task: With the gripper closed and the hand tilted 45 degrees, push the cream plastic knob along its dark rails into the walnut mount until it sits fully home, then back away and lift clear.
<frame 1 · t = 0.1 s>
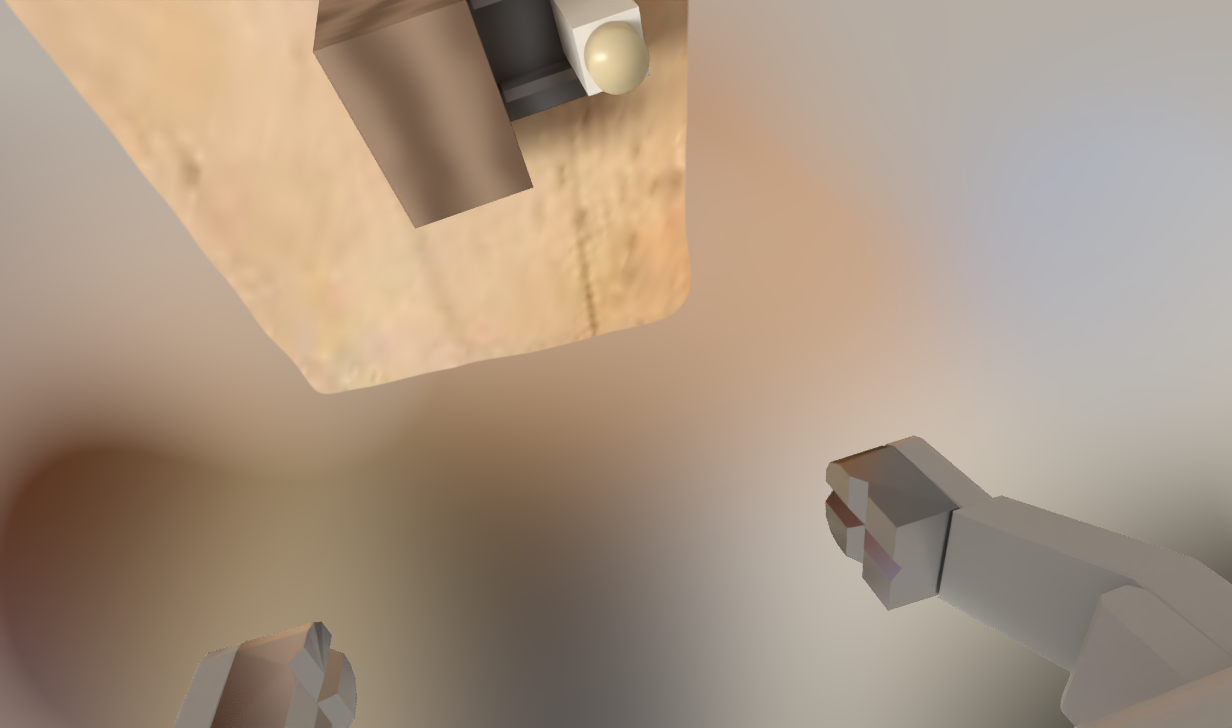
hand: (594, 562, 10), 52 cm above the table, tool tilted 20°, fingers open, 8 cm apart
mount: (483, 37, 51), on the table
knob: (600, 35, 47), point 7 cm above the table, slide at 6.0 cm
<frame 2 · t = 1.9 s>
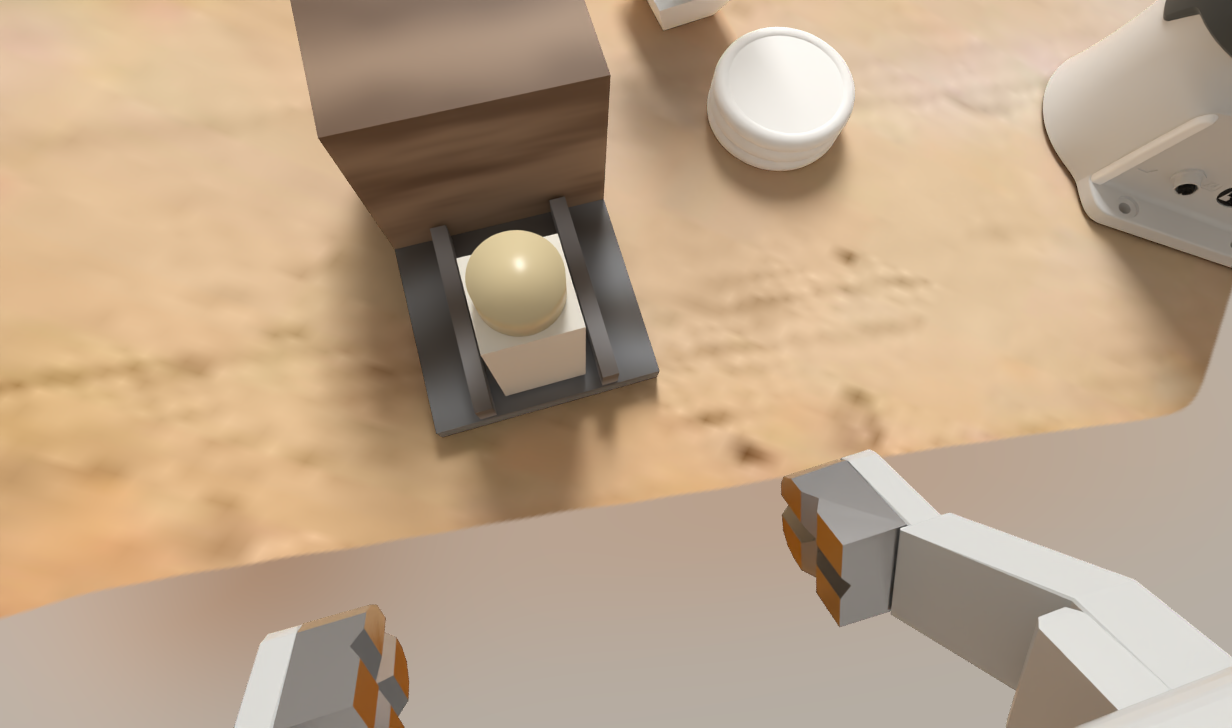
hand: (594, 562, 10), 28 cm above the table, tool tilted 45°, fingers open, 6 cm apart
figurine: (676, 3, 47), on the table
mount: (505, 238, 41), on the table
coaster: (770, 117, 45), on the table
knob: (527, 317, 32), point 7 cm above the table, slide at 6.0 cm
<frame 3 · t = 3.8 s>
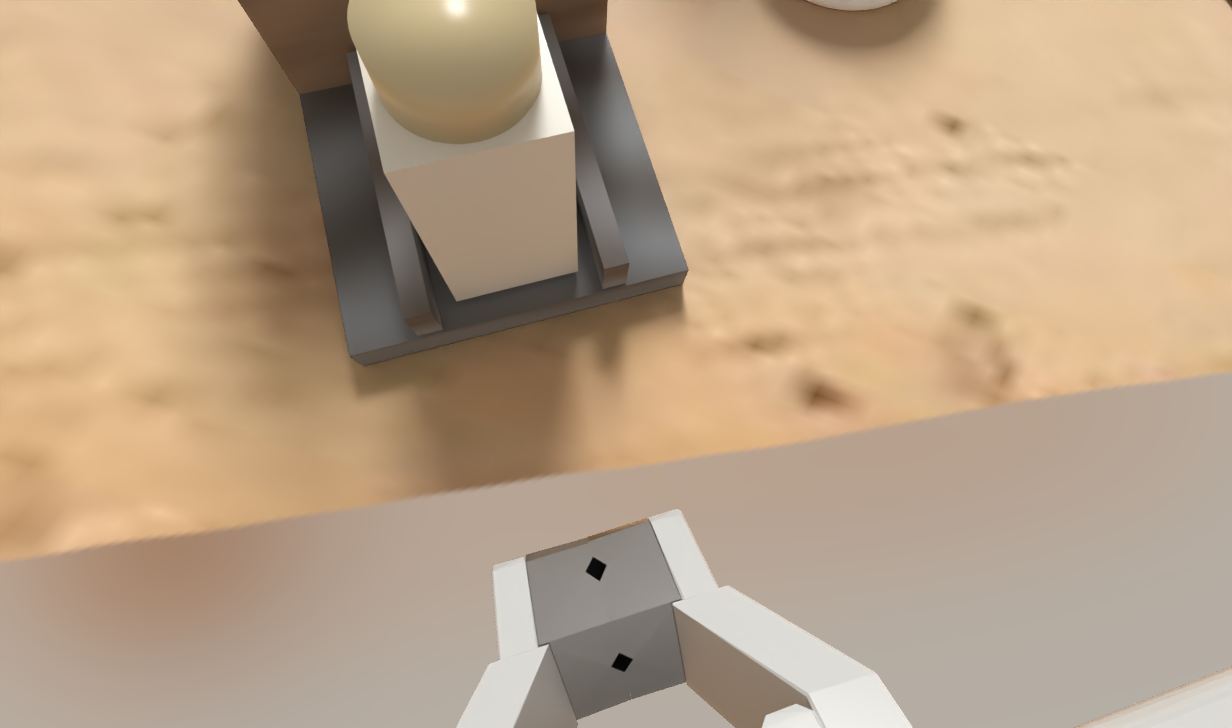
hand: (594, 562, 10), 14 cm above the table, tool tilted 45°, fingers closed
mount: (465, 91, 29), on the table
knob: (481, 151, 19), point 7 cm above the table, slide at 6.0 cm
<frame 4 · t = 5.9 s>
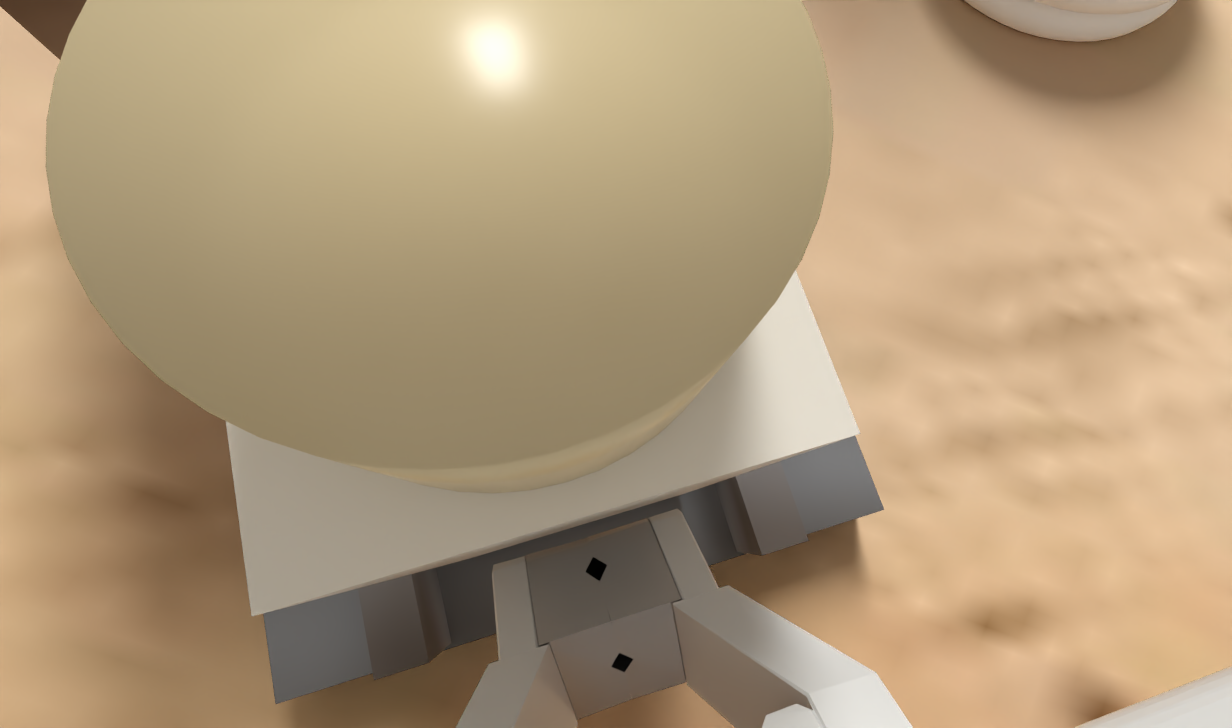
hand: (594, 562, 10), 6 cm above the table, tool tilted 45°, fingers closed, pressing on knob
mount: (485, 173, 18), on the table
knob: (532, 352, 9), point 7 cm above the table, slide at 5.3 cm, touching gripper
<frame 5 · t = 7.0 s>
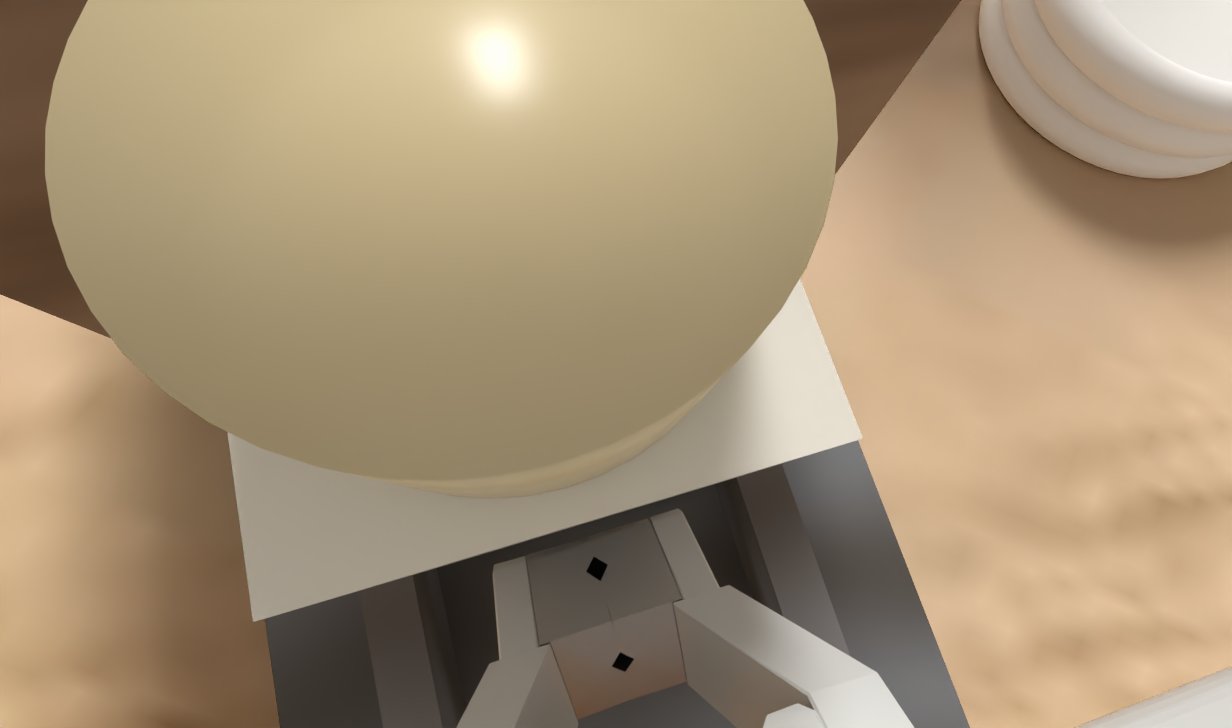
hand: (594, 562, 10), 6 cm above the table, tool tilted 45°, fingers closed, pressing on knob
mount: (531, 341, 16), on the table
coaster: (1109, 59, 21), on the table
knob: (533, 353, 9), point 7 cm above the table, slide at -0.1 cm, touching gripper
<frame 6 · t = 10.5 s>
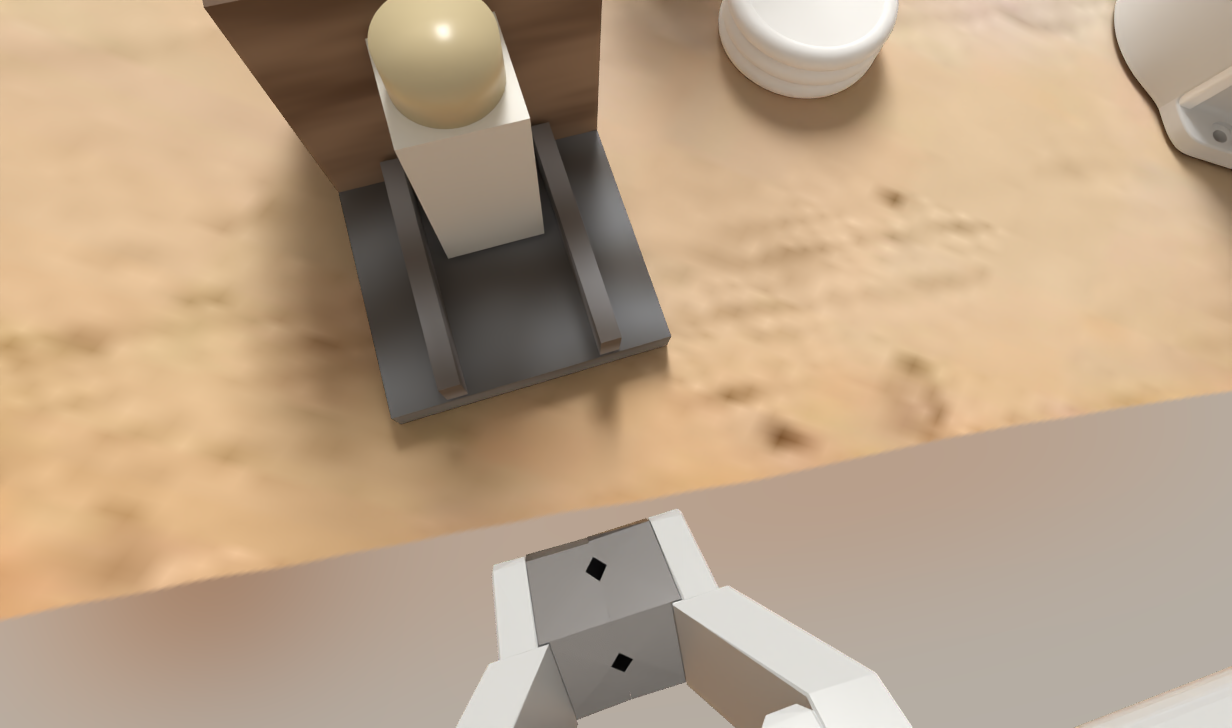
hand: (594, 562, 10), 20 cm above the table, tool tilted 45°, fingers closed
mount: (477, 180, 33), on the table
coaster: (794, 37, 38), on the table
knob: (464, 136, 26), point 7 cm above the table, slide at 0.0 cm
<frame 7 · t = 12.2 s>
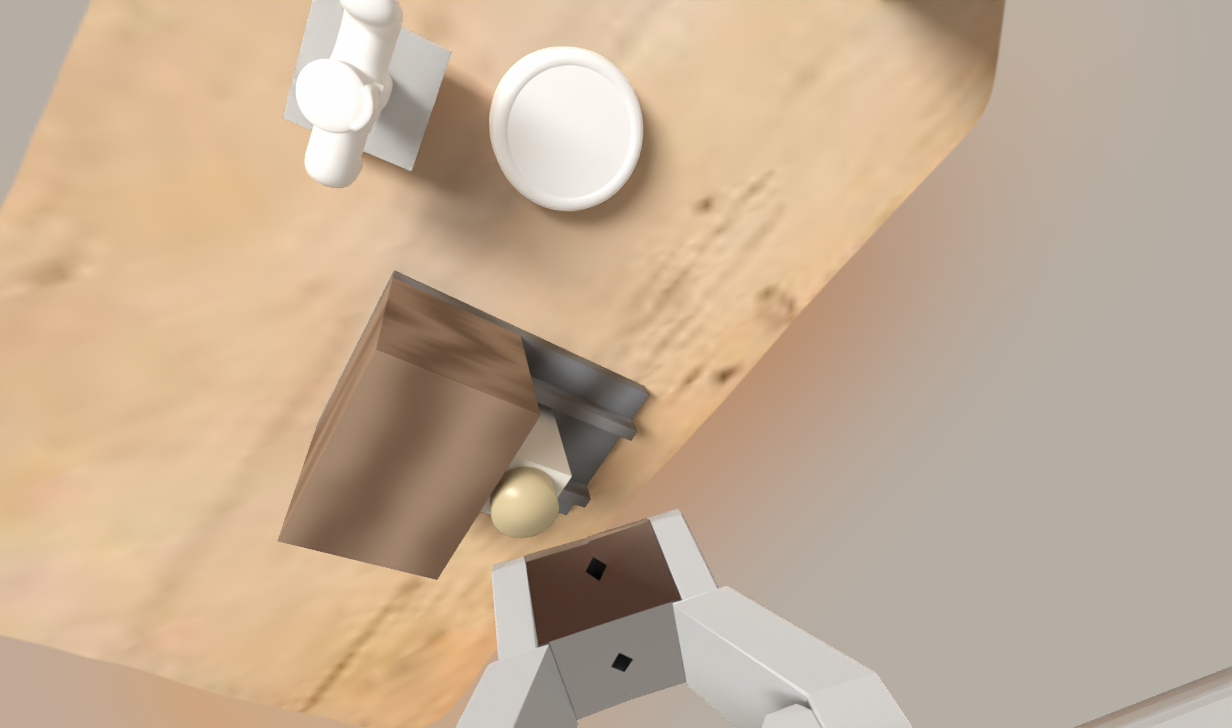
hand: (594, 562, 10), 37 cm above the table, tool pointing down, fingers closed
figurine: (374, 81, 37), on the table
mount: (480, 399, 49), on the table
coaster: (561, 128, 42), on the table
knob: (517, 462, 44), point 7 cm above the table, slide at 0.0 cm
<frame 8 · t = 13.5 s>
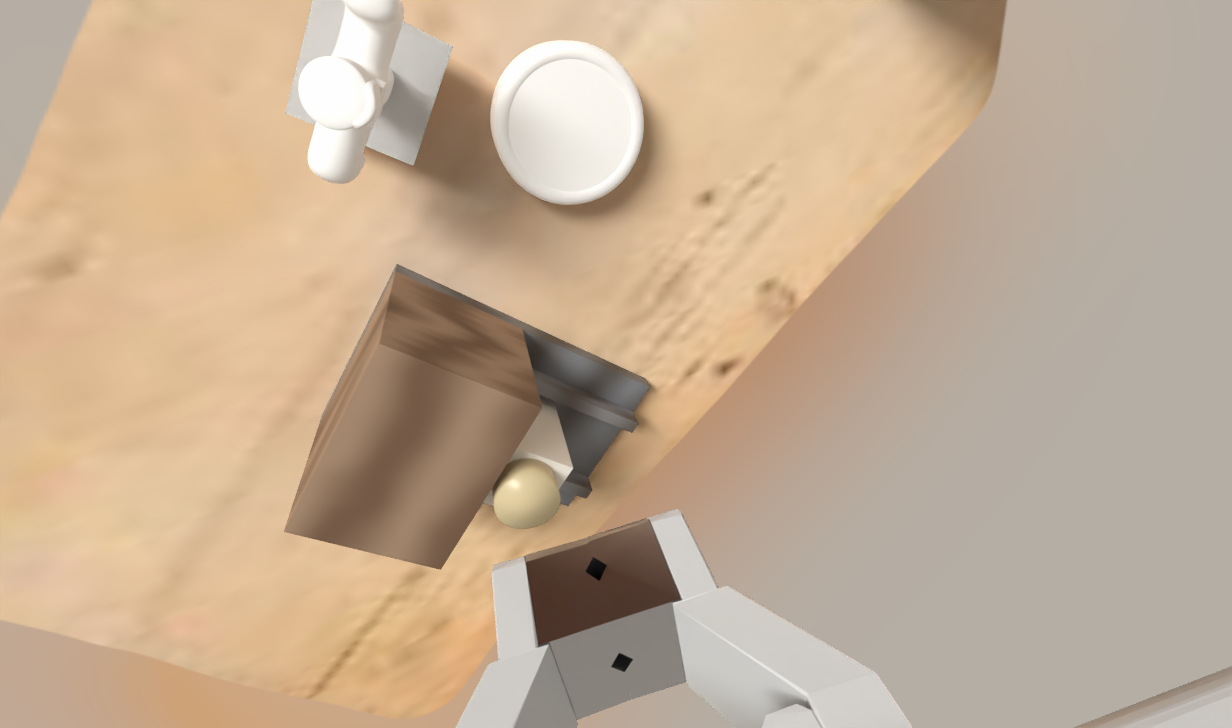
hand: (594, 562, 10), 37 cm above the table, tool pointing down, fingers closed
figurine: (376, 75, 38), on the table
mount: (483, 391, 50), on the table
coaster: (562, 121, 42), on the table
knob: (519, 454, 45), point 7 cm above the table, slide at 0.0 cm
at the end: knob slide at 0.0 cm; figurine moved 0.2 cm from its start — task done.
